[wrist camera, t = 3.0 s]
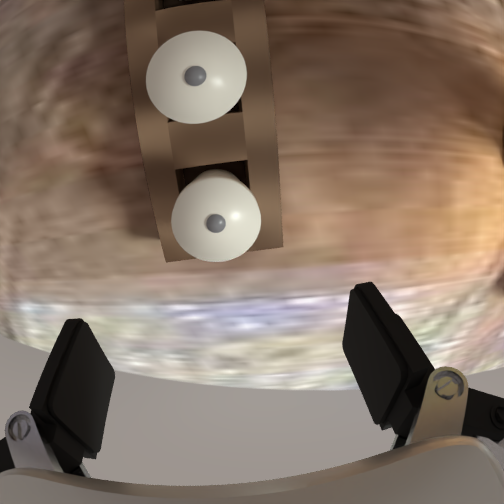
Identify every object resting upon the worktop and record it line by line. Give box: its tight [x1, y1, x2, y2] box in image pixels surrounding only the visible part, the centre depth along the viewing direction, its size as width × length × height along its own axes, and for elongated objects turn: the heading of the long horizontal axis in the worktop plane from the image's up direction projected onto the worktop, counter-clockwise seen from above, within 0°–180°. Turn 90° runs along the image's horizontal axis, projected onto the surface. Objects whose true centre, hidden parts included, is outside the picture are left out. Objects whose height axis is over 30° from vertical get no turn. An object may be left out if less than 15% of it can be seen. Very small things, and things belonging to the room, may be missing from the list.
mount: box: [124, 0, 283, 262], centre depth 20 cm, size 28×10×4 cm, turn 5°
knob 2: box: [171, 169, 261, 262], centre depth 21 cm, size 6×6×5 cm
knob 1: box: [146, 31, 247, 124], centre depth 16 cm, size 6×6×5 cm
